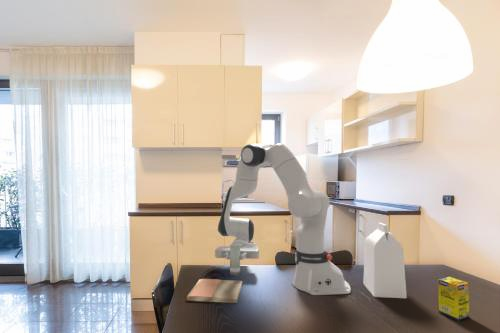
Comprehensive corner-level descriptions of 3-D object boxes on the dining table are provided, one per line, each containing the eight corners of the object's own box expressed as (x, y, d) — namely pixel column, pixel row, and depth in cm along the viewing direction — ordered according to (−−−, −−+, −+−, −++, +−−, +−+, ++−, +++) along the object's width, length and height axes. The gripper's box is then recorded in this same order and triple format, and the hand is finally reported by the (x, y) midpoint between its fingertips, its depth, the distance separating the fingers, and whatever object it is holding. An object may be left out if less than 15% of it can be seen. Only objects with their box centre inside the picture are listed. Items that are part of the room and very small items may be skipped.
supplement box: (459, 321, 80) (457, 285, 81) (438, 312, 86) (437, 278, 86) (470, 317, 83) (469, 282, 83) (449, 309, 88) (448, 276, 89)
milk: (363, 283, 109) (362, 221, 110) (392, 284, 108) (390, 221, 109) (374, 296, 97) (372, 226, 98) (406, 298, 96) (405, 227, 97)
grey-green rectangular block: (240, 271, 115) (240, 244, 116) (239, 275, 111) (239, 246, 111) (230, 271, 115) (230, 244, 116) (229, 275, 111) (229, 246, 112)
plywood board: (242, 284, 108) (242, 280, 108) (236, 303, 92) (236, 298, 92) (199, 282, 109) (199, 278, 109) (186, 300, 93) (187, 295, 94)
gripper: (218, 242, 127) (211, 249, 114) (259, 242, 125) (257, 250, 112) (218, 255, 127) (211, 264, 113) (259, 256, 125) (258, 265, 111)
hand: (234, 257), depth 112 cm, fingers closed on grey-green rectangular block, 4 cm apart
